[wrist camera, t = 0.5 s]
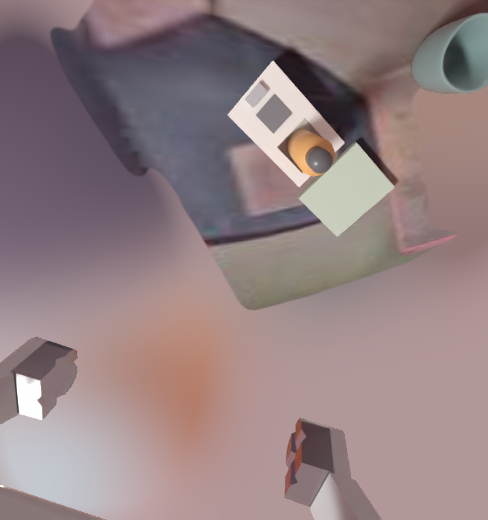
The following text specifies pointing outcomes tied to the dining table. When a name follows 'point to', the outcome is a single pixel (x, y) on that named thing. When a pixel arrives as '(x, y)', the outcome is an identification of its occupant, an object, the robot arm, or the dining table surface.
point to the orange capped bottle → (310, 152)
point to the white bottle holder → (279, 118)
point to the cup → (454, 57)
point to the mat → (346, 190)
